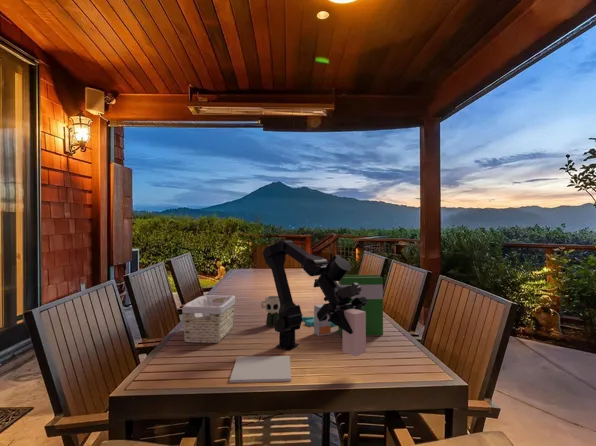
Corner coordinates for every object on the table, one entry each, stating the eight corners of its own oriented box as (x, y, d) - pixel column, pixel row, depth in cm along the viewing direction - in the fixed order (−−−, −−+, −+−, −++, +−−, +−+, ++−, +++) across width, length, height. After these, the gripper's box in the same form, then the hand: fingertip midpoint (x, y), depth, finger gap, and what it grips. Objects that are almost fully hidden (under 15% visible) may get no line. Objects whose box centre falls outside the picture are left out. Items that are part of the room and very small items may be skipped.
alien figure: (292, 321, 170) (321, 330, 155) (292, 316, 170) (321, 325, 155) (321, 314, 183) (351, 322, 168) (321, 310, 183) (351, 317, 168)
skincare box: (318, 336, 146) (318, 307, 146) (313, 333, 150) (313, 305, 150) (331, 334, 148) (331, 306, 148) (326, 331, 152) (326, 303, 152)
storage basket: (201, 326, 161) (201, 294, 161) (236, 327, 160) (236, 294, 160) (180, 344, 137) (180, 306, 137) (221, 345, 136) (221, 306, 136)
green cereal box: (378, 329, 155) (378, 274, 155) (383, 335, 148) (382, 277, 148) (338, 330, 155) (338, 275, 155) (340, 335, 147) (340, 277, 147)
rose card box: (342, 351, 109) (342, 311, 109) (353, 347, 112) (353, 308, 112) (354, 356, 105) (355, 314, 105) (365, 352, 109) (365, 311, 109)
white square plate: (237, 359, 122) (237, 356, 122) (289, 358, 122) (289, 355, 122) (229, 382, 104) (229, 379, 104) (291, 381, 104) (291, 378, 104)
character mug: (259, 327, 158) (259, 298, 158) (262, 323, 165) (262, 295, 165) (284, 328, 158) (284, 299, 158) (285, 323, 165) (285, 295, 165)
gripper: (323, 277, 106) (351, 322, 97) (363, 272, 118) (391, 311, 109) (305, 299, 112) (330, 343, 103) (345, 292, 124) (371, 331, 115)
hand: (357, 331), depth 108 cm, fingers closed on rose card box, 5 cm apart
